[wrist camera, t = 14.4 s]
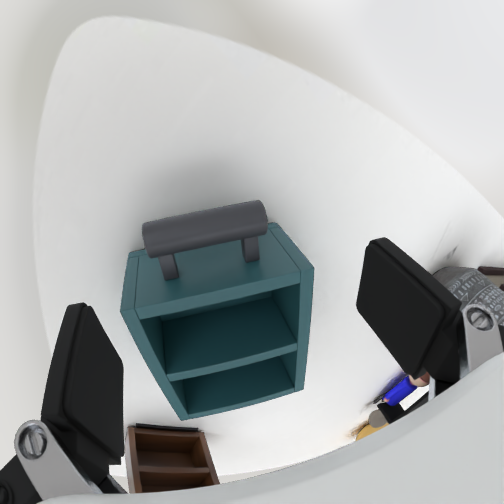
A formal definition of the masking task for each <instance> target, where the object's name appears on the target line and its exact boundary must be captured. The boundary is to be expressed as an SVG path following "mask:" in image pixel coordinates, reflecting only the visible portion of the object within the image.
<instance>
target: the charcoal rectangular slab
mask: <svg viewBox="0 0 504 504" xmlns="http://www.w3.org/2000/svg"><path fill="white" fill-rule="evenodd" d="M135 428H143V429H153V430H164V431H180V432H197V431H198V428H183V427H167V426H156V425H146V424H137V423H136V426H135Z"/></svg>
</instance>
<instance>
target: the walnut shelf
mask: <svg viewBox="0 0 504 504" xmlns="http://www.w3.org/2000/svg"><path fill="white" fill-rule="evenodd" d="M124 449H125V460H126V469H127V478H128V485H129V493H130V494H134V493H153V492H165V491H176V490H185V489H193V488H200V487H206V486H213V485H218V484H220V482H219V480H218V477H217V474H216V470H215V467H214V464H213V461H212V458H211V455H210V451H209V448H208V445H207V441H206V438H205V435H204V432H180V431H164V430H153V429H143V428H134V427H128V429H127V435H126V440H125V446H124Z"/></svg>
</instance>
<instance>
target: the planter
mask: <svg viewBox="0 0 504 504" xmlns="http://www.w3.org/2000/svg"><path fill="white" fill-rule="evenodd" d="M432 276H433V277H434V278H435V279H437V280H438V281H439V282H440V283H441V284H442V285H443V286H444V287H446V288H447V289H448V290H449V291H450V292H451V293H452V294H453V295H454V296H455V297H456V298H457V299H459V300H460V301H461V302H462V305H461V307H460V309H459V310H460V311H461V312H463V310H464V308H465V307H466V306H467V305H470V304H479V305H482V306H484V307H486V308H488V309H489V310H490V311H491V312H492V313H493V314H494V316H495V318H496V320H497V324H498V325H503V326H504V292H503V291H502V290H501V289H500V288H498V287H497V286H496V285H495V284H494V283H493V282H492V281H491V280H489V279H488V278H487V277H486V276H485V275H483V274H482V273H481V272H480V271H478V270H477V269H474V268H466V267H446V268H443V269H441V270H439V271H437V272H436V273H435V274H434V275H432Z"/></svg>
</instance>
